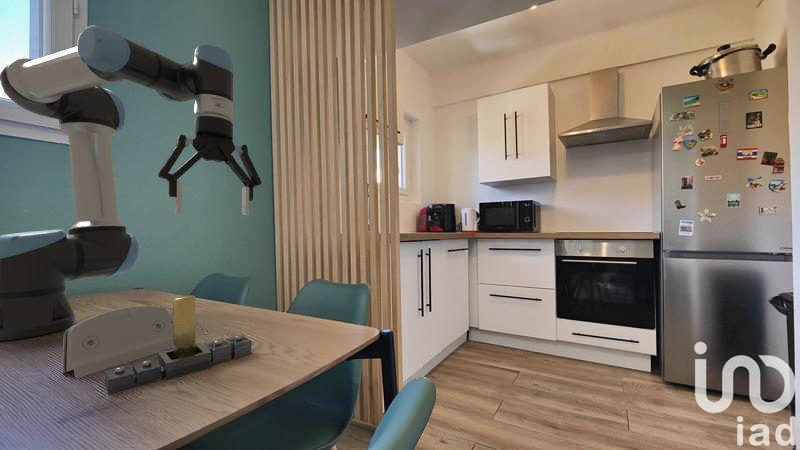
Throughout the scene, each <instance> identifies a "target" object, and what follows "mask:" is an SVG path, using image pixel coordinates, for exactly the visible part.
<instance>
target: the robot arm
mask: <svg viewBox="0 0 800 450" xmlns="http://www.w3.org/2000/svg"><path fill="white" fill-rule="evenodd" d="M76 43H77V44H76V46H75V47H71V48H69V49H66V50H62V51H58V52H55V53H53V54H50V55H47V56H44V57H40V58H37V59H33V58H26V57H25V58H18V59H15V60H12V61H9V62H7V63H6V64H4V66H2V68H1V69H0V88H1V89H2V90H3V92H4V94H5V95H6V96H7V97H8V98H9V100H11V101H12V102H14V104H16V105H17V106H19V107H21V108H22V109H24V110H26V111H28V112H30V113H33V114H36V115H39V116H43V117H47V118H50V119H51V118H52V119H55V120H58V125H59V129H60V131H61V132H63V133H64V134H66V135H67V136H68V147H69V148H68V149H69V158H70V168H71V169H70V171H71V179H72V182H71V183H72V191H73V203H74V214H75V223H74V224H73V225H72V226H71V227H69V228H68V234H67V232H66V231H65V230H64V229H45V230H36V231H35V230H34V231H33V230H32V231H26V232H25V231H24V232H17V233H16V232H15V233H9V234H2V235H0V342H1V341H11V340H12V341H13V340H21V339H25V338H26V339H27V338H32V337H37V336H38V337H39V336H42V335H47V334H51V333H55V332H59V331H63V330H67V329H68V328H70V327H72V326H74V325H76V324H77V321H76V318H77V317H76V315H77V314H76V312H75V311H74V309H73V307H72V305H71V302H70V301H69V298H68V296H67V294H66V291H67V290H66V282H69V281H71V282H72V281H79V280H86V279H97V278H105V277H106V278H107V277H112V276H116V275H117V276H118V275H122V274H125V273H127V272H129V271H130V270H131V269H132V268H133V267H134V265H135V264H136V262H137V259H138V255H139V247H140V246H139V242H138V240H137V239H136V236H135V235H134V234H132V233H128V232H127V226H126V225H125V224H123V223H122V222H120V221H119V215H118V203H117V202H118V201H117V192H116V182H115V173H114V172H115V171H114V162H113V152H112V144H111V142H112V141H111V139H112V138H114V137H116V135H117V133H118V131H120V130H121V129H122V128H123V127H124V125H125V121H126V117H127V116H126V108H125V105H124V103H123V101H122V99H121V98H120V96H119V95H118V94H117V93H115V92H114V91H112V90H110V89H108V88H104V87H103V86H104V85H107V84H112V83H115V82H119V81H120V82H121V81H124V80H125V81H130V82H133V83H135V84H138V85H141V86H143V87H146V88H149V89H152V90H154V91H156V93H157V95H159V96H161V98H163V99H164V100H166V101H168V102H174V103H176V102H178V103H179V102H187V101H191V100H194V116H195V118H194V136H193V138H191V137H187V136H186V135H185V134H180V135H179V136H177V138H176V144H175V147H174V148H173V150H172V152H171V153H170V155H169V156H168V157H167V159H166V161H165V163H164V164H163V166H162V167H161V169H160V170H159V172H158V173H157V177H158V178H160V179H163V180H166V181H167V182H168V195H169V197H170V198H174V214H182V211H183V210H182V202H183V200H182V197H183V196H182V195H183V194H182V193H183V191H182V189H183V188H182V184H183V183H182V181H178V180H179V179H180V178H181V177H182V176H183V175H184V174H186V172H187V171H189V170H190V169H191V168H192V167H193V166H194V165H195V164H197V162H198V161H200V160H201V159H203V160H204V161H208V162H211V161H213V162H216V163H222V162H224V163H225V164H226V165H227V166H228V167H229V169H231V171H232V172H233V173H234V174H235V176H236V177H237V178H238V179H239V180H240V181H241V183H242V184H243V185H244V187H241V215H245V216H247V215H250V202H252V201H253V199H254V187H257V186H260V185H262V180H261V178H260V175H259V174H258V172H257V170H256V168H255V166H254V163H253V161H252V159H251V157H250V155H249V149H248V146H247V144H243V145H235V144H234V140H233V139H234V130H233V129H234V124H233V123H232V122H233V120H234V117H233V115H234V112H233V111H234V110H233V109H234V108H233V106H234V105H233V103H234V97H233V96H234V75H235V73H234V65H233V58H232V55H231V54H230V53H229V52H228V51H227V50H225V49H223V48H221V47H219V46H216V45H213V44H212V45H211V44H200V45H198V46H196V48H195V50H194V54H193V58H194V59H193V61H192V60H191V61H189V62H184V63H179V62H177V61H175V60H173V59H170V58H168V57H166V56H164V55H162V54H160V53H158V52H155V51H153V50H151V49H149V48H147V47H145V46H142V45H140V44H138V43H136V42H134V41H131V40H129V39H128V38H126V37H123V36H122V35H120V34H119V33H116V32H114V31H110V30H108V29H105V28H103V27H100V26H97V25H88V26H87V27H85V28H83V31H81V32H80V34H79V35H78V38H77V42H76ZM190 145H192V147H193V148H194V150H196V152H195V153H194V154H193V155H192V156H191V157H190V158H189V159H188V160H187V161H185V162H184V163H183V164H182V165H180V167H178V168H177V170H175V171H174V172H173V173H170V172H171V170H172V168H173V166H174V165H175V164H176V162H177V160H178V159H179V157H180V155H181V154H182V152H183V151H184V149H185V148H187V147H189V146H190ZM234 152H236V154H237V155H238V156H239V158H240V161H241V162H242V164H243V167H244V168H245V171H246V172H245V171H244V170H243V168H242V167H241V166H240V165H239V163H238V162H237V161H236V158H235V157H234V155H232V154H233V153H234Z"/></svg>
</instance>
